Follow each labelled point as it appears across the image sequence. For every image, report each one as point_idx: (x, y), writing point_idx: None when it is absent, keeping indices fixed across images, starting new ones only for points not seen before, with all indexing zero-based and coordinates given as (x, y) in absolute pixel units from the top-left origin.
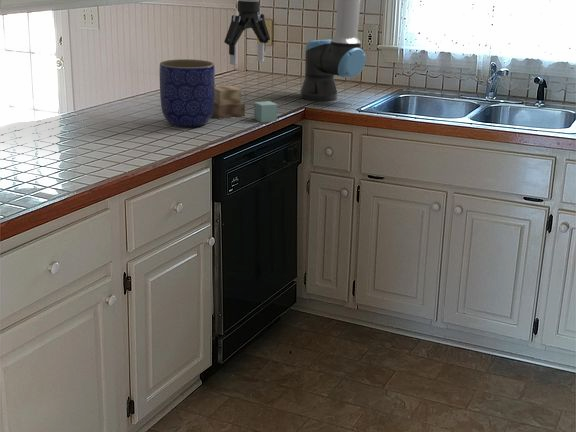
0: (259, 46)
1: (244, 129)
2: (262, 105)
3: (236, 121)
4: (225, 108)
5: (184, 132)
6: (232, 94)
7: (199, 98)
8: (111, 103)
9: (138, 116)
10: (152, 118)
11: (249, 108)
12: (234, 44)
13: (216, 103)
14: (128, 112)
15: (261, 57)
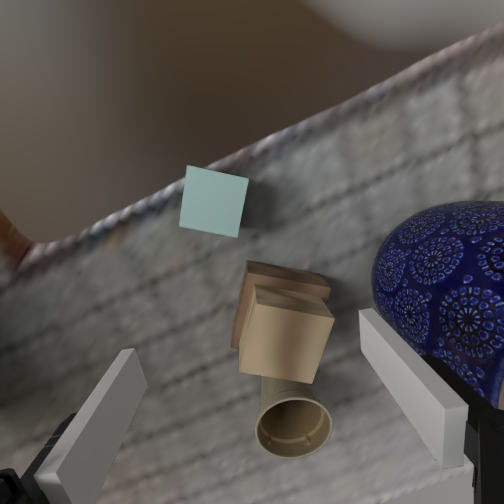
0: (95, 465)
1: (346, 126)
2: (246, 178)
3: (301, 223)
4: (307, 280)
5: (492, 186)
6: (286, 302)
7: None
8: (410, 491)
9: None
10: None
11: (175, 334)
12: (501, 415)
13: None
14: None
15: (127, 374)
